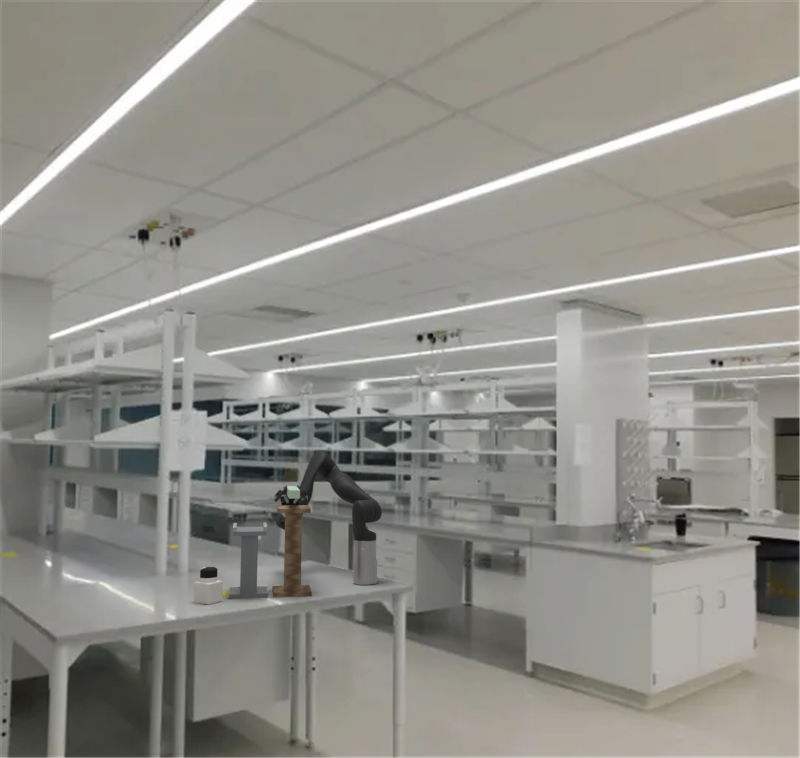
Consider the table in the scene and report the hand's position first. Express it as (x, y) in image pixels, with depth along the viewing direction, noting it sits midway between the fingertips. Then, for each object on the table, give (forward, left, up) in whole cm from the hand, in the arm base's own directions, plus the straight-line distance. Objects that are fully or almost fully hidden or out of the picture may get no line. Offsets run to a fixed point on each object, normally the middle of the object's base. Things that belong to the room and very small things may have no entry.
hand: (292, 487), depth 291 cm
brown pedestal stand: (0, +10, -39) cm, 40 cm away
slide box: (0, +5, -3) cm, 5 cm away
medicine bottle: (+30, +21, -39) cm, 53 cm away
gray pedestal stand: (+16, +10, -39) cm, 43 cm away
